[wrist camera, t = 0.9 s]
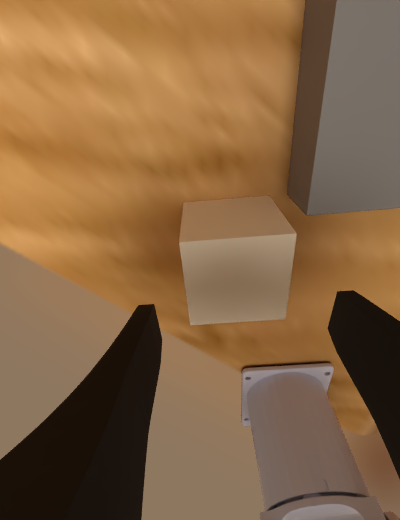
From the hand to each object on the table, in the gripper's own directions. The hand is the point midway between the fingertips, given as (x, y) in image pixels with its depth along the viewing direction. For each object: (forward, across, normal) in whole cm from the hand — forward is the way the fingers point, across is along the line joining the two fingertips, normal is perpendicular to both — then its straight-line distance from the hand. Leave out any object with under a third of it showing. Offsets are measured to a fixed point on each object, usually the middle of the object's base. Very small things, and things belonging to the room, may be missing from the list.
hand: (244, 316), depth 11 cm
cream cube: (+7, 0, 0) cm, 7 cm away
